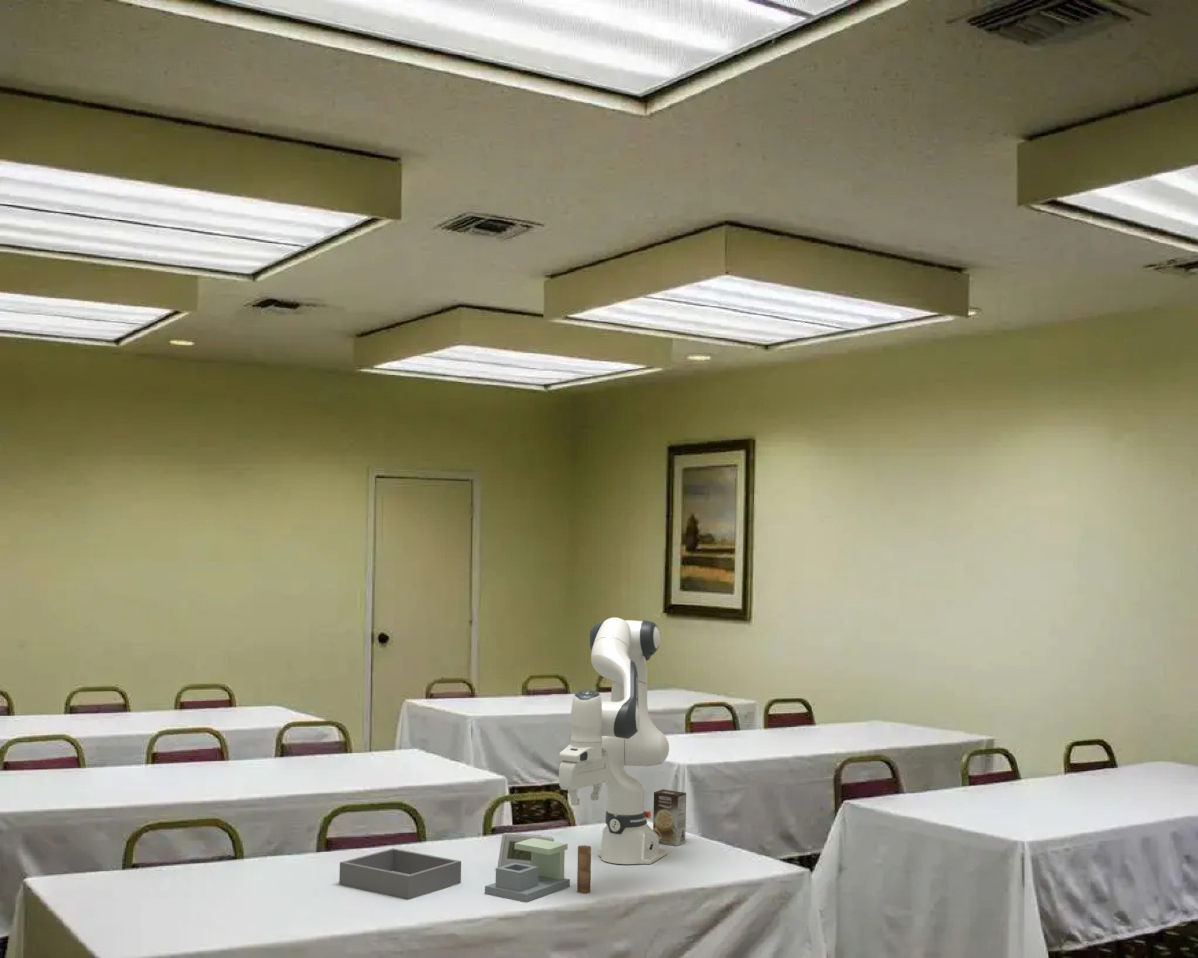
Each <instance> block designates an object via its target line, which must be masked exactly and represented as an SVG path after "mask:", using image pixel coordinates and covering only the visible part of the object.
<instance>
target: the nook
mask: <svg viewBox="0 0 1198 958" xmlns="http://www.w3.org/2000/svg"><path fill="white" fill-rule="evenodd" d="M568 845H569V844H568V843H565V842H560V841H559V842H558V841H555V840H554V841H548V840H542V839H536V838H531V839H528V840H524V841H521V842H517V843H515V848H514V849H518V850H524V851H530V852H531V865H525V864H520V863H515V862H514V863H511V864H508V865H505V866H501V867H498V866H497V867H496V868H495V882H492V883H491V884H487V885H484V894H485V895H490V896H495V897H500V898H505V899H509V900H513V901H518V902H523V903H524V902H525V903H528V902H531V901H534V900H537V899H540V898H543V897H544V896H548V895H550V894H553V893H556V892H559V891H561V890H564V889H568V888H570V887H571V879H570V878H565V855H566V854H565V851H567V850H568Z"/></svg>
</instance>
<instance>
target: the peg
mask: <svg viewBox="0 0 1198 958" xmlns="http://www.w3.org/2000/svg"><path fill="white" fill-rule="evenodd" d="M576 872H577V876H576V877H577V880H576V881H577V882H576V883H577V884H576V888H577V889H576V892H577V893H579V894H589V893H591V876H592V875H591V873H592V846H591V845H586V844H585V845H583V844H581V845H579V846H577V871H576Z"/></svg>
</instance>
